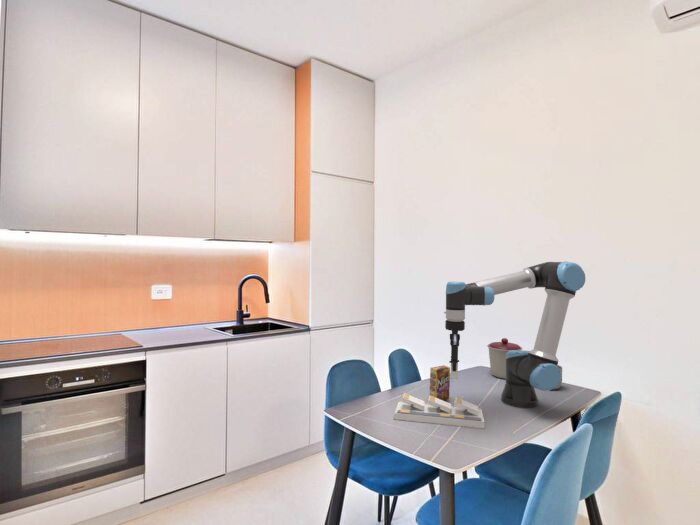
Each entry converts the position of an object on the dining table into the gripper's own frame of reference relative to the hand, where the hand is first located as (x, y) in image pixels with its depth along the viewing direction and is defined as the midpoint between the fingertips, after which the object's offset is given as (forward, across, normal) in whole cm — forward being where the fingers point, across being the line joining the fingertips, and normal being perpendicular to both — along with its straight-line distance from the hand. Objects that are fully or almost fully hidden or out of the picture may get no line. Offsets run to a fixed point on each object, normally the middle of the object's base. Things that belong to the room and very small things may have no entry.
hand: (454, 378), depth 165 cm
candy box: (+16, -19, -6) cm, 26 cm away
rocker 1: (+11, 0, -16) cm, 20 cm away
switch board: (+16, +1, -6) cm, 17 cm away
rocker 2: (+11, 0, -6) cm, 13 cm away
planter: (+16, -54, +47) cm, 73 cm away
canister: (+16, -69, +28) cm, 76 cm away
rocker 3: (+11, 0, +5) cm, 12 cm away
